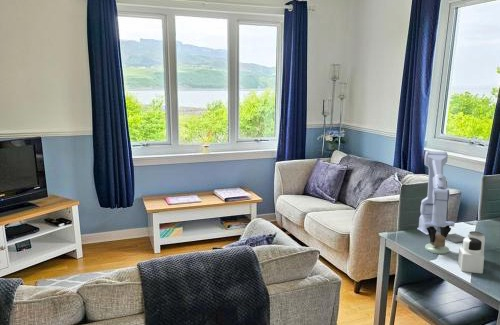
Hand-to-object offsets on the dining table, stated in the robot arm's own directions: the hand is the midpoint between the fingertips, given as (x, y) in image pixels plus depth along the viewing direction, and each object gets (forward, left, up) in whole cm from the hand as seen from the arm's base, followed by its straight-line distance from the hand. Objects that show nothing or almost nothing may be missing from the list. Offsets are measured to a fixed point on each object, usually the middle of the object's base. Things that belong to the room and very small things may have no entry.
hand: (437, 241), depth 174 cm
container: (+20, +2, -4) cm, 21 cm away
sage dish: (0, 0, -4) cm, 4 cm away
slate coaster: (-11, +17, -4) cm, 21 cm away
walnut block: (0, 0, -2) cm, 2 cm away
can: (+12, +10, -4) cm, 16 cm away
